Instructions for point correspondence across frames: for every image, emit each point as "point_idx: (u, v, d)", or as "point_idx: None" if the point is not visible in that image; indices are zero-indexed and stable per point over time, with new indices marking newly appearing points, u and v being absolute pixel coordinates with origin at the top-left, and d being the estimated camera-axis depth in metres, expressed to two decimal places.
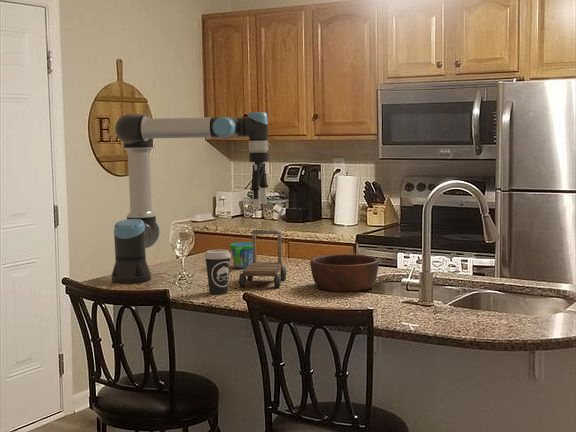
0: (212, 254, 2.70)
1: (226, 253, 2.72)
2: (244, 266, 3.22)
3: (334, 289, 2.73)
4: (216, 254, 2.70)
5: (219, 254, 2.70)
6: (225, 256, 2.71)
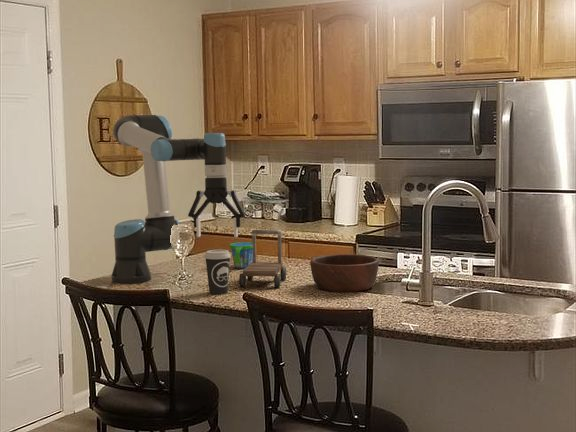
0: (212, 254, 2.70)
1: (226, 253, 2.72)
2: (244, 266, 3.22)
3: (334, 289, 2.73)
4: (216, 254, 2.70)
5: (219, 254, 2.70)
6: (225, 256, 2.71)
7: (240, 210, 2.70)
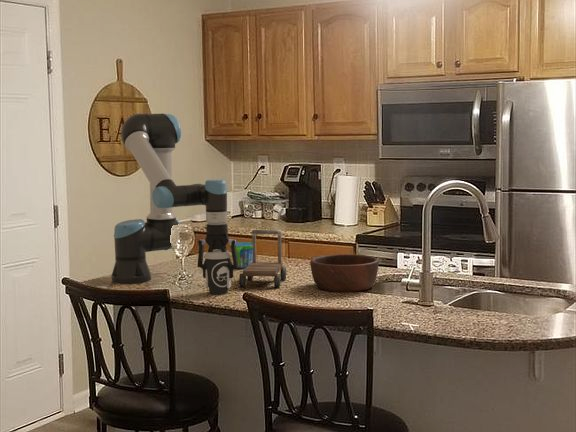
0: (212, 254, 2.70)
1: (226, 253, 2.72)
2: (244, 266, 3.22)
3: (334, 289, 2.73)
4: (216, 254, 2.70)
5: (219, 254, 2.70)
6: (225, 256, 2.71)
7: (234, 261, 2.72)
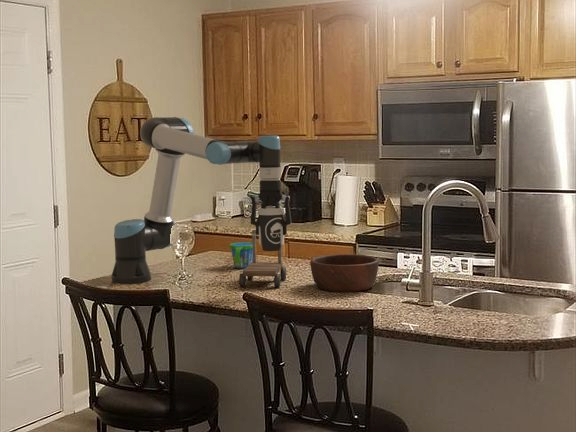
0: (266, 210, 2.68)
1: (280, 209, 2.70)
2: (244, 266, 3.22)
3: (334, 289, 2.73)
4: (270, 210, 2.68)
5: (273, 210, 2.68)
6: (279, 212, 2.69)
7: (288, 217, 2.70)
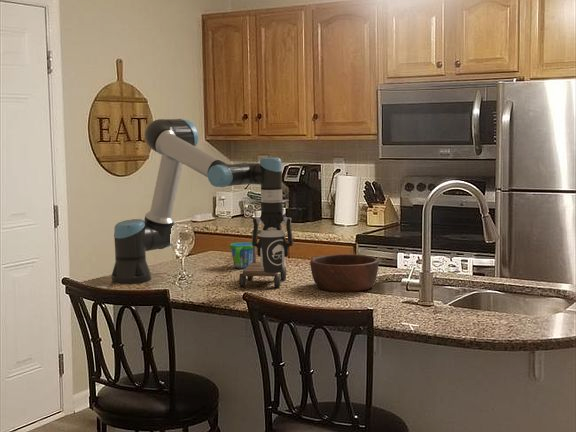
0: (267, 232, 2.69)
1: (281, 231, 2.70)
2: (244, 266, 3.22)
3: (334, 289, 2.73)
4: (271, 232, 2.69)
5: (274, 232, 2.69)
6: (281, 234, 2.70)
7: (290, 239, 2.71)
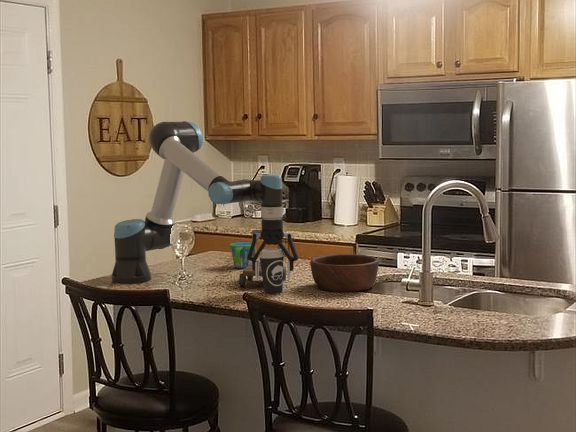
0: (266, 253, 2.70)
1: (280, 252, 2.71)
2: (244, 266, 3.22)
3: (334, 289, 2.73)
4: (270, 253, 2.70)
5: (273, 253, 2.70)
6: (280, 255, 2.71)
7: (294, 254, 2.71)
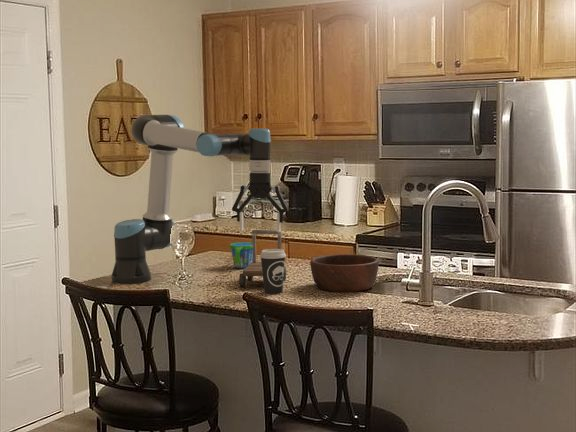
0: (268, 253, 2.70)
1: (282, 252, 2.71)
2: (244, 266, 3.22)
3: (334, 289, 2.73)
4: (272, 253, 2.70)
5: (275, 253, 2.70)
6: (281, 255, 2.70)
7: (284, 205, 2.73)
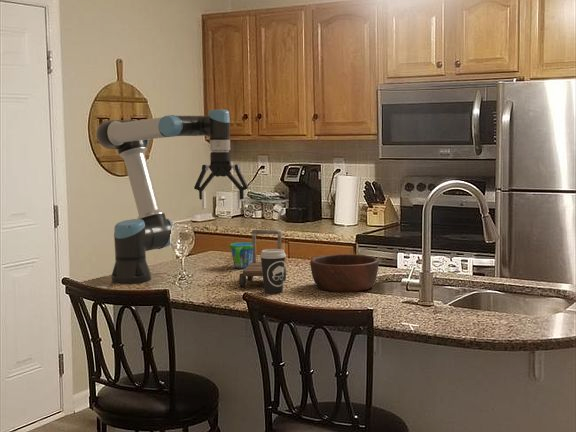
0: (268, 253, 2.70)
1: (282, 252, 2.71)
2: (244, 266, 3.22)
3: (334, 289, 2.73)
4: (272, 253, 2.70)
5: (275, 253, 2.70)
6: (281, 255, 2.70)
7: (243, 183, 2.85)
